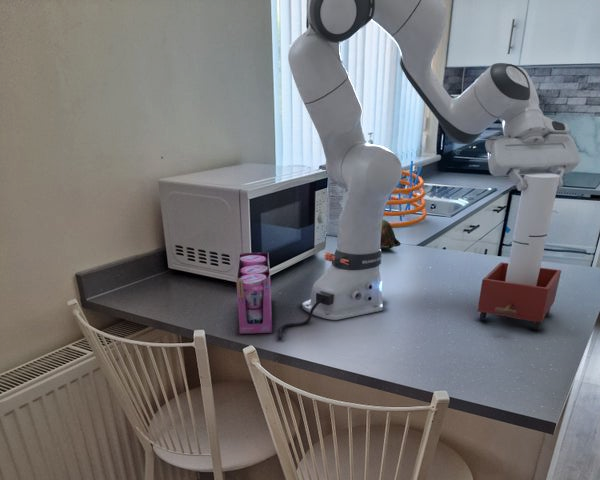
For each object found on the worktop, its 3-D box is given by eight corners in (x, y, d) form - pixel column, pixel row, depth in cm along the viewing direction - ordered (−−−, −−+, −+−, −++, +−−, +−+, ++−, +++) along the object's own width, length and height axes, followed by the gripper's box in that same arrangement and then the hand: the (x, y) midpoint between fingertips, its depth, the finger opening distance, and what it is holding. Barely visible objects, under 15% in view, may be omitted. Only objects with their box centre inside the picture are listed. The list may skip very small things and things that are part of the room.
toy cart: (533, 342, 120) (543, 295, 115) (468, 330, 127) (475, 285, 122) (551, 312, 136) (561, 270, 131) (493, 303, 143) (500, 262, 138)
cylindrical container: (538, 291, 126) (562, 177, 114) (506, 289, 127) (527, 177, 115) (533, 282, 132) (556, 173, 120) (502, 280, 133) (522, 172, 121)
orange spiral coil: (436, 217, 244) (446, 161, 230) (406, 239, 220) (415, 178, 206) (368, 204, 259) (373, 151, 245) (333, 223, 235) (336, 165, 220)
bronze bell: (336, 224, 189) (379, 203, 192) (339, 249, 198) (380, 229, 201) (362, 249, 180) (407, 227, 182) (364, 274, 189) (406, 253, 192)
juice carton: (339, 237, 210) (341, 162, 196) (316, 234, 215) (316, 161, 201) (349, 232, 217) (351, 160, 203) (326, 230, 221) (327, 159, 208)
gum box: (272, 335, 126) (270, 279, 119) (239, 336, 126) (234, 280, 119) (271, 301, 147) (269, 251, 140) (242, 302, 147) (238, 252, 140)
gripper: (489, 126, 117) (503, 180, 114) (575, 124, 120) (591, 176, 116) (477, 147, 123) (490, 199, 120) (558, 144, 126) (574, 195, 122)
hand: (541, 188), depth 118 cm, fingers closed on cylindrical container, 7 cm apart
